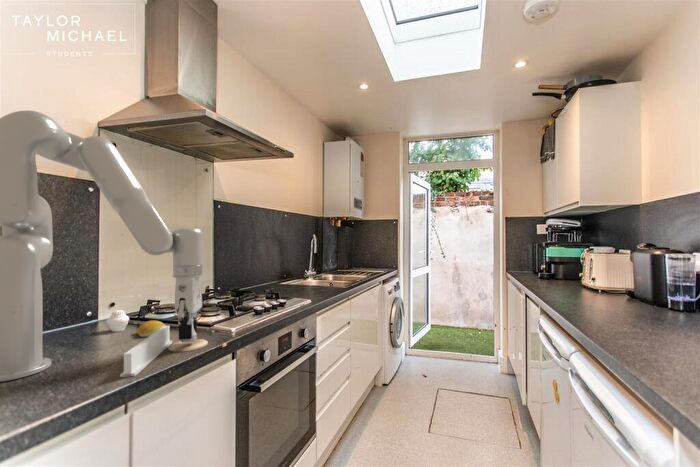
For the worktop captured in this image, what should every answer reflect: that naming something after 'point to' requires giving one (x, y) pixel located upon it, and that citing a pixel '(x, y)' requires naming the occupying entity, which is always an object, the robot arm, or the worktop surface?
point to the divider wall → (146, 352)
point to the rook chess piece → (192, 330)
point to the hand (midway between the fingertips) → (188, 335)
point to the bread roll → (149, 328)
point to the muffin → (118, 321)
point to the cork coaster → (188, 345)
